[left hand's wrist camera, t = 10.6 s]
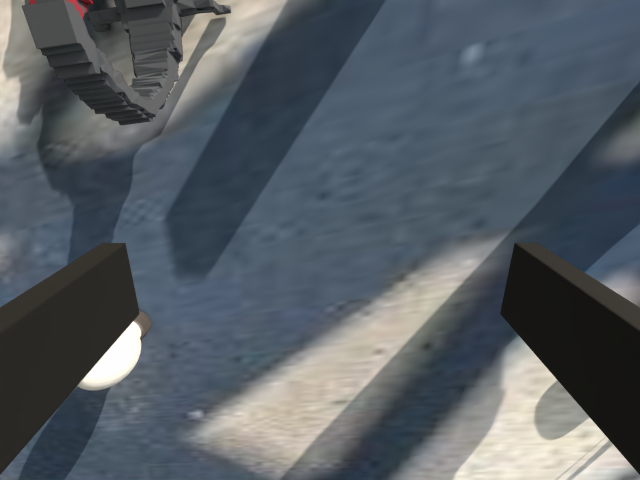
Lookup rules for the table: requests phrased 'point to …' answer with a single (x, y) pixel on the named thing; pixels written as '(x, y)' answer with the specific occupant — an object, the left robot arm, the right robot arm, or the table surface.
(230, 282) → the table surface
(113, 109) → the toy
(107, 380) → the light bulb
